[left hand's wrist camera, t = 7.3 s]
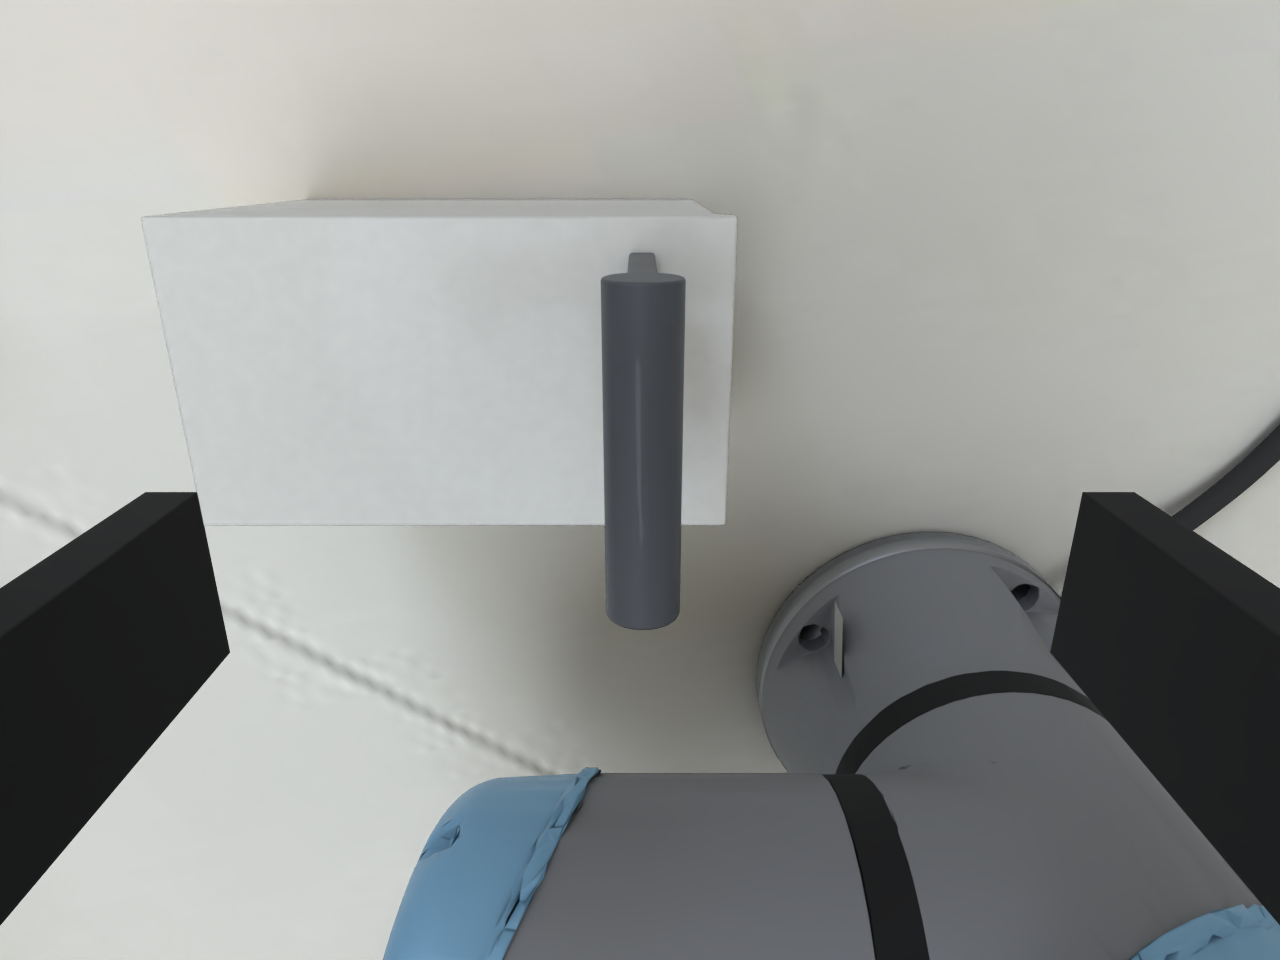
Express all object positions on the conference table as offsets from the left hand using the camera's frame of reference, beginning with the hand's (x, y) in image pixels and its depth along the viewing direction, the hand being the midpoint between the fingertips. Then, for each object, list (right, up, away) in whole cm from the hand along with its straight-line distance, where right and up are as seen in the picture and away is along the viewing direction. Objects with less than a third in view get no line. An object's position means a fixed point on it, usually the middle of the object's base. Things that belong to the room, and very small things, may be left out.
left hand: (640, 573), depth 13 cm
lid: (-5, +5, +12) cm, 14 cm away
